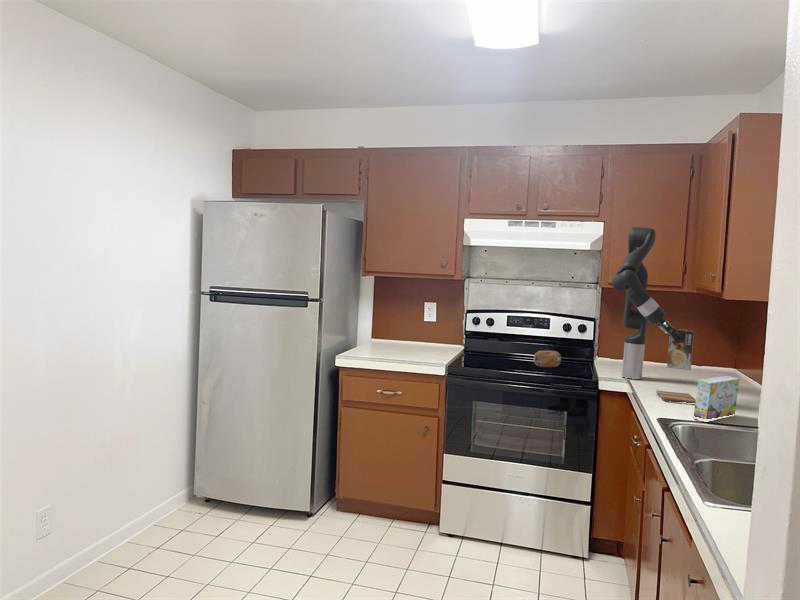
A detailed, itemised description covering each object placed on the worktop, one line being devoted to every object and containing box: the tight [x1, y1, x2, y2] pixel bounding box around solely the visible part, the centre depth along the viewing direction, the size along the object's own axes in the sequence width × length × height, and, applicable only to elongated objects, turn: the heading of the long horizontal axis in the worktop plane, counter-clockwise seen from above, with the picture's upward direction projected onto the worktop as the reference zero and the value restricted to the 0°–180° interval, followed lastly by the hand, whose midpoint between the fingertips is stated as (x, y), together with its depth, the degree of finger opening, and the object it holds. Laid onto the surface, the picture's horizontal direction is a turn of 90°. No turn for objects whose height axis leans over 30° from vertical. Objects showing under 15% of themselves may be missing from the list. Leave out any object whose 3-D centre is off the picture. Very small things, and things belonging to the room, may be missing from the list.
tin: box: [533, 350, 562, 368], centre depth 309 cm, size 15×3×8 cm, turn 105°
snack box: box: [693, 375, 740, 419], centre depth 223 cm, size 21×6×15 cm, turn 126°
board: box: [655, 390, 696, 403], centre depth 251 cm, size 14×13×2 cm
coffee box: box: [666, 327, 695, 371], centre depth 249 cm, size 9×6×16 cm
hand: (677, 340), depth 249 cm, fingers closed on coffee box, 7 cm apart
